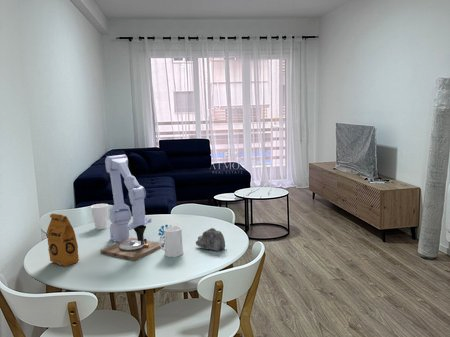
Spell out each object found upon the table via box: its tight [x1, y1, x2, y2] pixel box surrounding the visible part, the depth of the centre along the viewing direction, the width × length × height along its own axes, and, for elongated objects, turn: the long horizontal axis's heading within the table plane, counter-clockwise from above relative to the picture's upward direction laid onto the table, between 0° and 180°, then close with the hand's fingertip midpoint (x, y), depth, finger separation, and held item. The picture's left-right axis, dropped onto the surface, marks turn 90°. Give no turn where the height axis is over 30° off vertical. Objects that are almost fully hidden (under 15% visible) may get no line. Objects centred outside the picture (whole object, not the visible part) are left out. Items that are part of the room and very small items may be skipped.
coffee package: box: [46, 213, 80, 267], centre depth 174 cm, size 10×12×22 cm
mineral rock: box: [195, 227, 226, 252], centre depth 186 cm, size 13×11×10 cm
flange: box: [119, 235, 149, 251], centre depth 187 cm, size 14×12×6 cm
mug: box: [159, 225, 184, 258], centre depth 179 cm, size 12×8×12 cm
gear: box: [158, 224, 172, 240], centre depth 200 cm, size 11×6×10 cm
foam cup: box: [90, 203, 109, 230], centre depth 225 cm, size 10×9×13 cm
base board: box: [99, 236, 165, 262], centre depth 188 cm, size 22×20×4 cm
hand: (140, 240), depth 186 cm, fingers closed, pressing on flange
